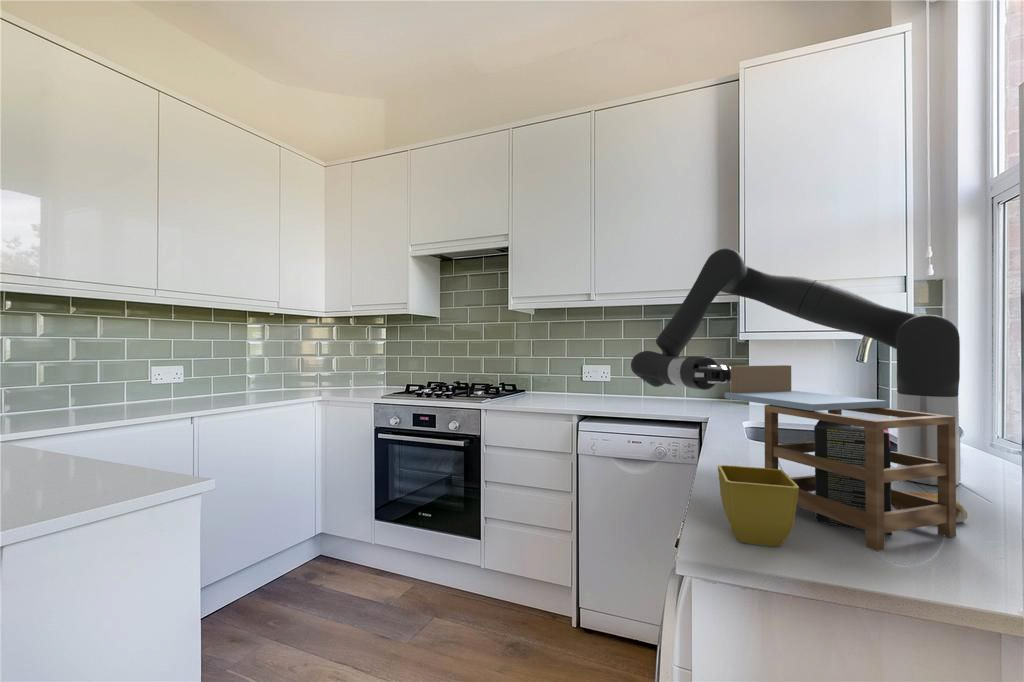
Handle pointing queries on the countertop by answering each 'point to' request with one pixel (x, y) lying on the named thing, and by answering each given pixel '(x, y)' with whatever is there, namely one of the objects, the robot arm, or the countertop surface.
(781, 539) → the flower pot
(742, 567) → the countertop surface
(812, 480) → the crate
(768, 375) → the lid
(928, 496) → the pastry
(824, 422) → the tampon box
